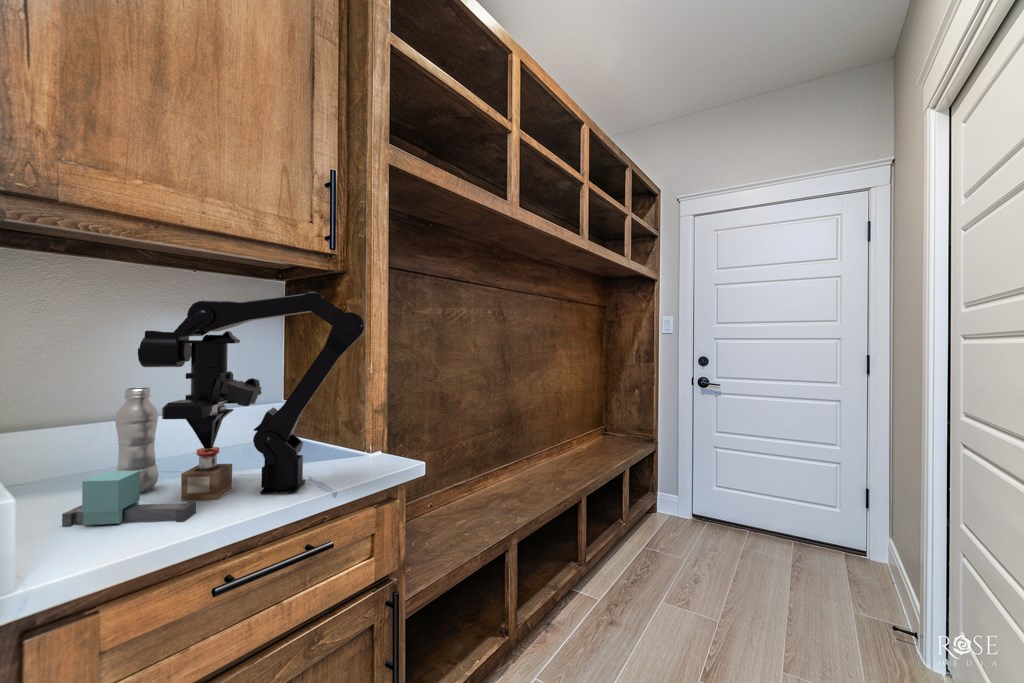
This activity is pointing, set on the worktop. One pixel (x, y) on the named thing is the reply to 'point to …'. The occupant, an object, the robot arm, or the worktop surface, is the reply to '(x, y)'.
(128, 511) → the rail
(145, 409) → the plastic bottle
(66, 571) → the worktop surface
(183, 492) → the brown button housing
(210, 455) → the button
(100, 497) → the carriage
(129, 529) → the worktop surface
